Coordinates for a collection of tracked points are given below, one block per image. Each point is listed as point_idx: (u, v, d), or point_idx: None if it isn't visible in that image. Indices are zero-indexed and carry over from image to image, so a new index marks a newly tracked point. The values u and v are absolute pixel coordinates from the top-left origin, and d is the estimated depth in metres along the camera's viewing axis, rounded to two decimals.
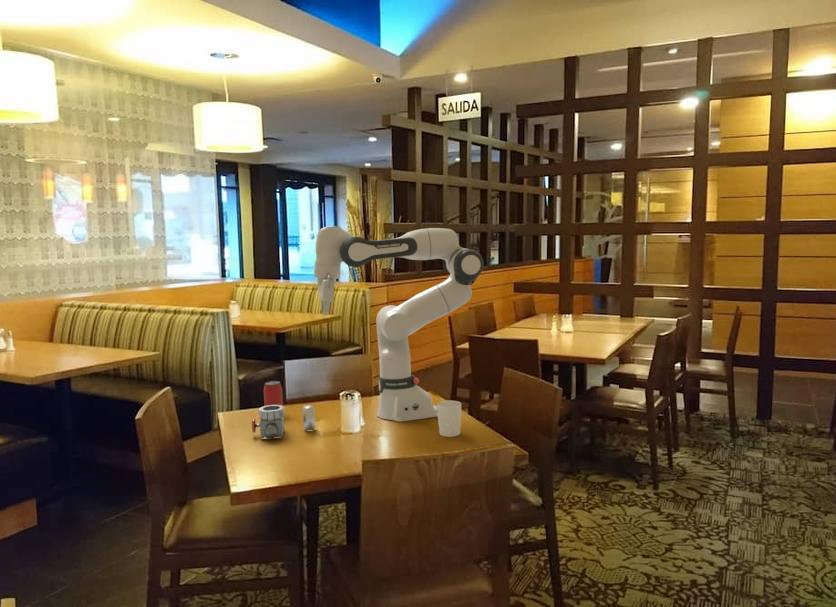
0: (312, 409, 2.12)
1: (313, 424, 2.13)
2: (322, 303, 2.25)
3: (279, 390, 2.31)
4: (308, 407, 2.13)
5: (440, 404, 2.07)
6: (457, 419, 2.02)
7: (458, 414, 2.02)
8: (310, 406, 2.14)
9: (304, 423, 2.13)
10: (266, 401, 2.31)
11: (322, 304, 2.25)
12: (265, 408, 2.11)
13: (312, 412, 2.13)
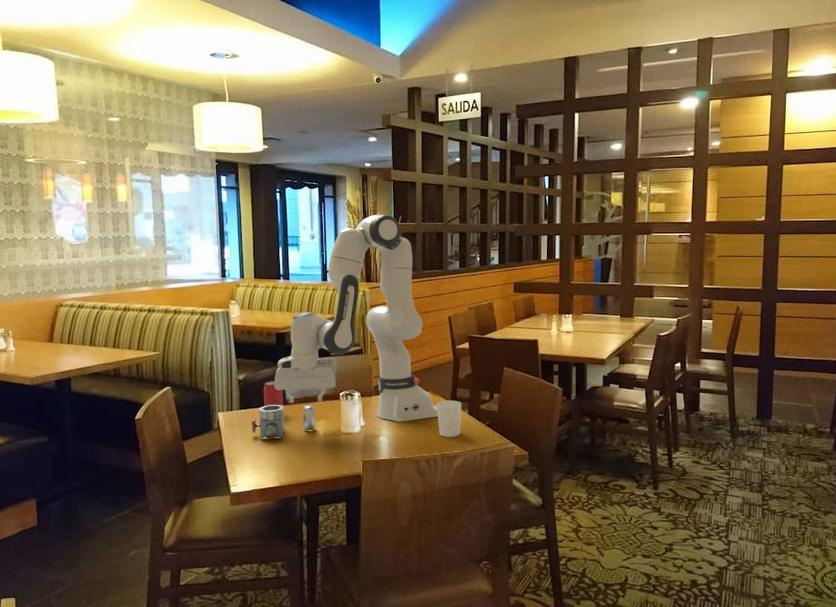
0: (312, 409, 2.12)
1: (313, 424, 2.13)
2: (289, 395, 2.11)
3: (279, 390, 2.31)
4: (308, 407, 2.13)
5: (440, 404, 2.07)
6: (457, 419, 2.02)
7: (458, 414, 2.02)
8: (310, 406, 2.14)
9: (304, 423, 2.13)
10: (266, 401, 2.31)
11: (290, 396, 2.11)
12: (265, 408, 2.11)
13: (312, 412, 2.13)
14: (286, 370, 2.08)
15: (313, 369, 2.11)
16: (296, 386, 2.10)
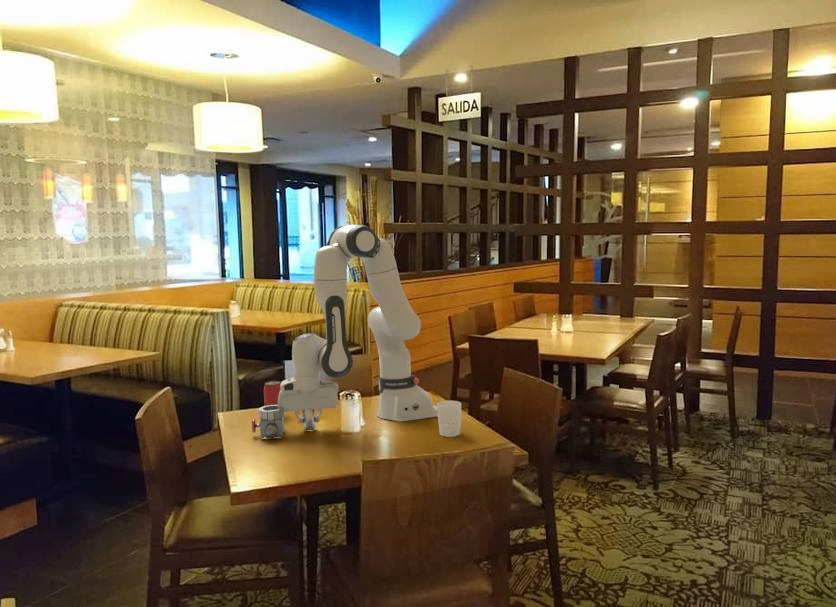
0: None
1: (313, 424, 2.13)
2: (299, 416, 2.13)
3: (279, 390, 2.31)
4: None
5: (440, 404, 2.07)
6: (457, 419, 2.02)
7: (458, 414, 2.02)
8: None
9: (304, 423, 2.13)
10: (266, 401, 2.31)
11: (299, 417, 2.13)
12: (265, 408, 2.11)
13: (312, 412, 2.12)
14: (289, 392, 2.09)
15: (315, 390, 2.12)
16: (299, 407, 2.11)
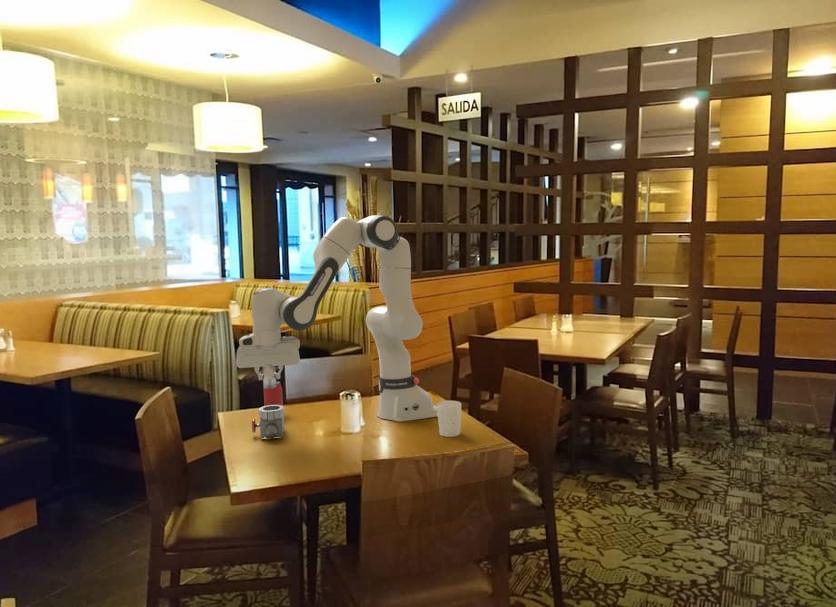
0: None
1: (273, 381, 2.07)
2: (258, 372, 2.07)
3: (279, 390, 2.31)
4: None
5: (440, 404, 2.07)
6: (457, 419, 2.02)
7: (458, 414, 2.02)
8: None
9: (264, 380, 2.07)
10: (266, 401, 2.31)
11: (259, 373, 2.07)
12: (265, 408, 2.11)
13: (272, 368, 2.07)
14: (247, 347, 2.04)
15: (275, 346, 2.06)
16: (259, 363, 2.06)
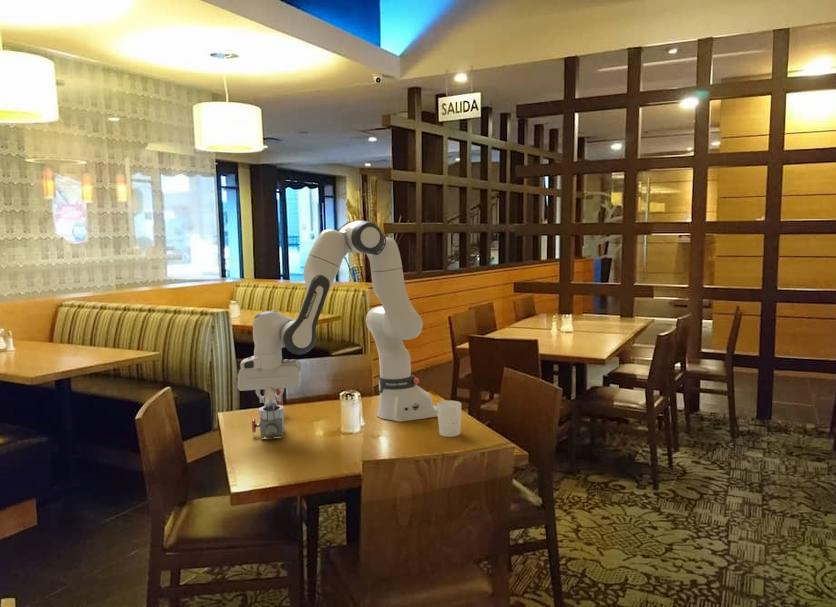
0: None
1: (274, 403, 2.08)
2: (260, 395, 2.08)
3: (279, 390, 2.31)
4: None
5: (440, 404, 2.07)
6: (457, 419, 2.02)
7: (458, 414, 2.02)
8: None
9: (265, 402, 2.08)
10: None
11: (260, 396, 2.08)
12: None
13: (273, 391, 2.08)
14: (249, 370, 2.04)
15: (277, 369, 2.07)
16: (260, 386, 2.06)
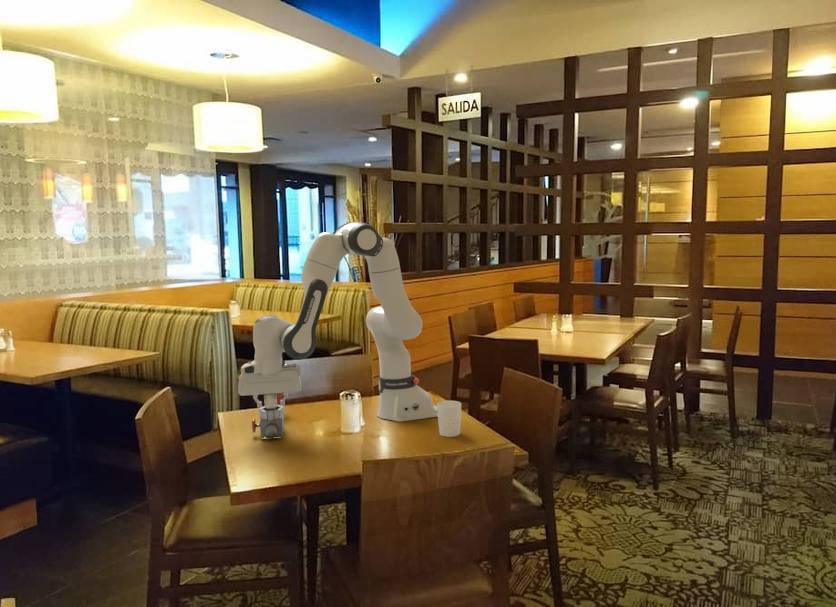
0: (274, 395, 2.08)
1: None
2: (257, 400, 2.08)
3: None
4: (269, 394, 2.08)
5: (440, 404, 2.07)
6: (457, 419, 2.02)
7: (458, 414, 2.02)
8: None
9: None
10: None
11: (258, 401, 2.08)
12: None
13: (274, 398, 2.08)
14: (249, 375, 2.05)
15: (277, 373, 2.07)
16: (260, 391, 2.07)
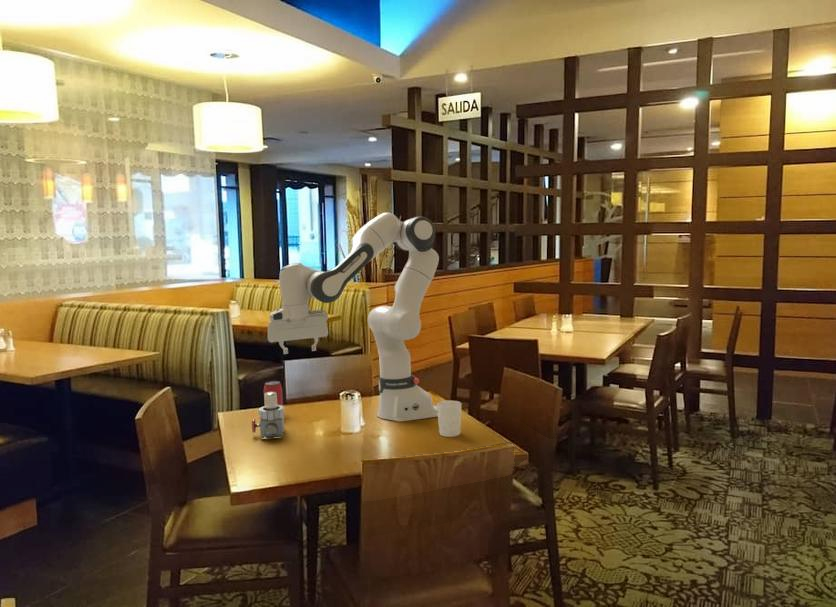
0: (274, 396, 2.08)
1: None
2: (283, 346, 2.14)
3: (279, 390, 2.31)
4: (270, 394, 2.08)
5: (440, 404, 2.07)
6: (457, 419, 2.02)
7: (458, 414, 2.02)
8: (272, 393, 2.09)
9: None
10: None
11: (284, 347, 2.14)
12: None
13: (274, 399, 2.08)
14: (278, 322, 2.10)
15: (305, 319, 2.13)
16: (289, 337, 2.13)
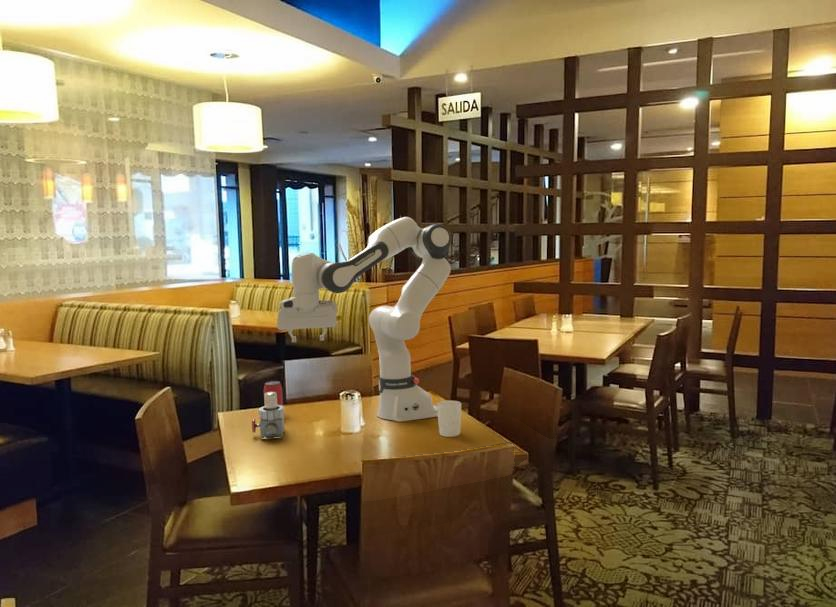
0: (274, 396, 2.08)
1: None
2: (292, 334, 2.16)
3: (279, 390, 2.31)
4: (270, 394, 2.08)
5: (440, 404, 2.07)
6: (457, 419, 2.02)
7: (458, 414, 2.02)
8: (272, 393, 2.09)
9: None
10: None
11: (292, 335, 2.17)
12: None
13: (274, 399, 2.08)
14: (288, 310, 2.13)
15: (314, 309, 2.15)
16: (298, 325, 2.15)
